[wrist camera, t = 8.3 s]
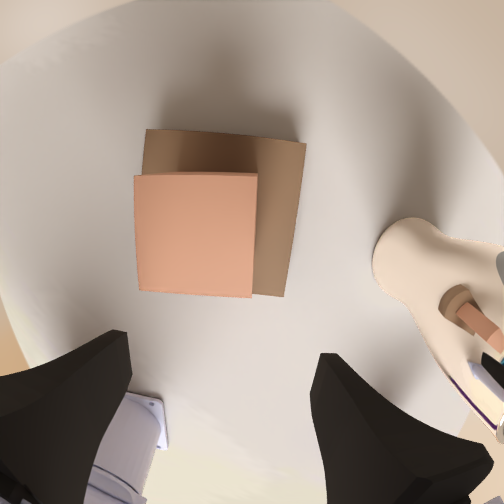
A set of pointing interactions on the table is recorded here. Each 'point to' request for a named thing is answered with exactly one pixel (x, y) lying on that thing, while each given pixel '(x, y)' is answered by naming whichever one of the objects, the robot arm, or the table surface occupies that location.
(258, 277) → the walnut base
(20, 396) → the robot arm
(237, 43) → the table surface
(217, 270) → the terracotta block
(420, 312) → the beer glass
